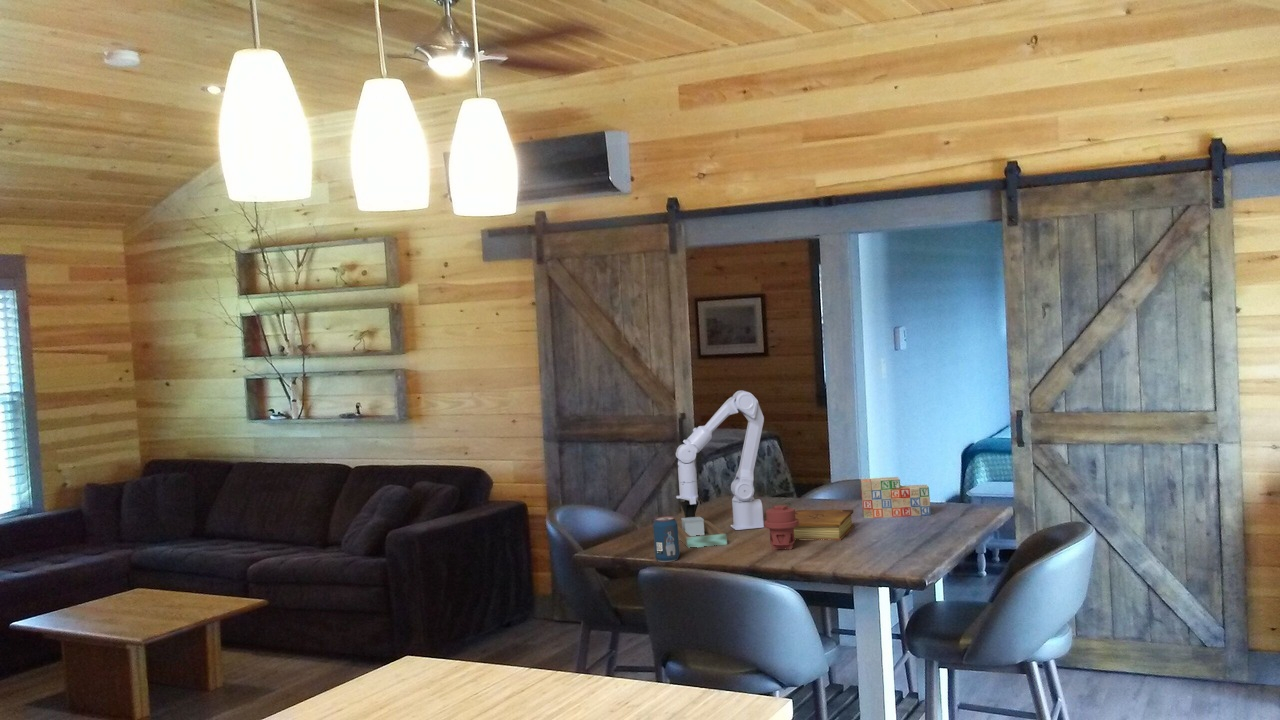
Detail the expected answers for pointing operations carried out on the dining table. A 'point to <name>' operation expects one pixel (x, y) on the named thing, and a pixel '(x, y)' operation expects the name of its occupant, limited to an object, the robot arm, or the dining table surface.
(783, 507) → the mechanical component
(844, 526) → the diary
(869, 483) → the stack of blocks
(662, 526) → the soda can
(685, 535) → the bay
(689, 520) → the box
